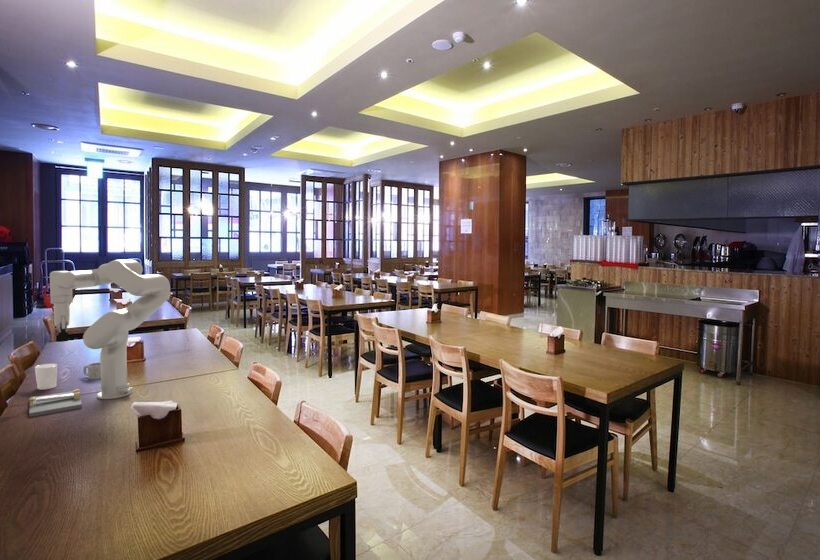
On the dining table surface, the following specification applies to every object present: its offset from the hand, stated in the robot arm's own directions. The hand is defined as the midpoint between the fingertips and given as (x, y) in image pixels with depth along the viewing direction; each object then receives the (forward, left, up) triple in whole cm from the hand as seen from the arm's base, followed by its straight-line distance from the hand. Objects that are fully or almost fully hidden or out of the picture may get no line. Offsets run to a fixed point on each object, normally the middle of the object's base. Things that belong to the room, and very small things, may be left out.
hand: (63, 341), depth 196 cm
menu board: (-12, +12, -23) cm, 28 cm away
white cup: (+14, -3, -23) cm, 27 cm away
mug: (+8, -21, -23) cm, 32 cm away
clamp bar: (-11, +12, -21) cm, 27 cm away
